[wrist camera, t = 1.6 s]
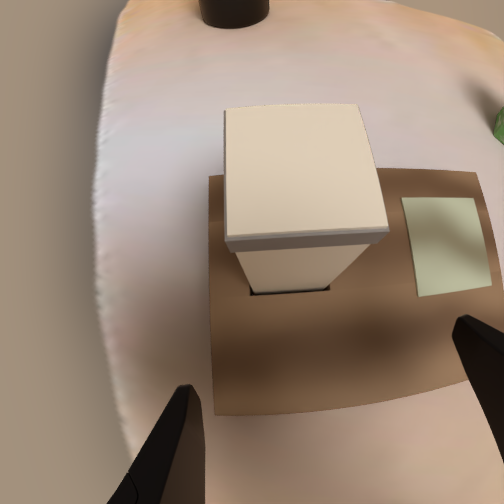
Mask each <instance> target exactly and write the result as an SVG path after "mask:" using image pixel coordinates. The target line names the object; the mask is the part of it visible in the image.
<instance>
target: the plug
mask: <svg viewBox="0 0 504 504" xmlns="http://www.w3.org/2000/svg"><path fill="white" fill-rule="evenodd" d="M224 232H225V243H226V245H227V247H228V249H229V251H230V253H234V252H235V253H236V255H237V258H238V260H239V262H240V264H241V266H242V268H243V270H244V273H245V275H246V277H247V279H248V281H249V283H250V285H251V287H252V290H253V292H254V294H255V296H259V295H276V294H291V293H305V292H319V291H322V290H323V289H325V288H326V287H327V286H328V285H329V284H330V283H331V282H332V281H333V280H334V279H335V278H336V277H337V276H338V275H339V274H340V273H342V272H343V271H344V270H345V269H346V268H347V267H348V266H349V265H350V264H351V263H352V262H353V261H354V260H355V259H356V258H357V257H358V256H359V255H360V254H361V253H362V252H363V251H364V250H365V249H366V248H367V247H368V246H369V245H370V244H377V243H378V242H379V241H380V240H381V239H382V238H384V237H385V236H386V235H387V234H388V233H389V232H390V230H389V225H388V220H387V214H386V210H385V205H384V200H383V195H382V191H381V186H380V182H379V178H378V174H377V170H376V166H375V162H374V158H373V154H372V151H371V147H370V143H369V140H368V136H367V133H366V129H365V126H364V123H363V120H362V116H361V113H360V110H359V107H358V105H357V104H283V105H264V106H250V107H238V108H228V109H226V110H225V111H224Z"/></svg>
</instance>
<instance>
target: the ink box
mask: <svg viewBox="0 0 504 504" xmlns="http://www.w3.org/2000/svg"><path fill="white" fill-rule="evenodd" d="M494 136H495V137H496V138H497V139H498V140H499V141H500V142H502V143H503V144H504V107H503V108H502V109H501V111H500V112H499V113H498V114H497V119H496V124H495V128H494Z"/></svg>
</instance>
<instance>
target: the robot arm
mask: <svg viewBox="0 0 504 504" xmlns="http://www.w3.org/2000/svg"><path fill="white" fill-rule="evenodd" d="M452 340H453V343H454V345H455V347H456V350H457V352H458V355H459V357H460V360H461V363H462V365H463V368H464V370H465V373H466V375H467V377H468V379H469V381H470V383H471V386H472V388H473V390H474V392H475V394H476V396H477V398H478V400H479V403H480V405H481V407H482V409H483V412H484V414H485V416H486V419H487V421H488V423H489V426H490V428H491V431H492V433H493V436H494V438H495V441H496V443H497V446H498V449H499V451H500V454H501V457H502V459H503V463H504V333H503V332H501V331H499V330H497V329H496V328H494V327H492V326H490V325H488V324H486V323H484V322H482V321H480V320H478V319H477V318H475V317H473V316H471V315H469V314H464V315H462V316H459V317H458V318H457V319H456V322H455V325H454V328H453V331H452ZM128 472H129V473H126V475H125V477H124V479H123V480H122V482H121V483H120V485H119V487H118V488H117V490H116V491H115V493H114V494H113V495H112V497H111V498H110V500H109V501H108V502H107V504H205V437H204V428H203V419H202V409H201V401H200V398H199V396H198V395H197V393H196V391H195V389H194V388H193V386H192V385H190V384H187V385H180V386H178V387H177V389H176V390H175V392H174V394H173V395H172V397H171V399H170V401H169V402H168V404H167V406H166V407H165V409H164V411H163V413H162V414H161V416H160V418H159V419H158V421H157V423H156V424H155V426H154V428H153V430H152V431H151V433H150V435H149V436H148V438H147V440H146V441H145V443H144V445H143V446H142V448H141V450H140V452H139V453H138V455H137V457H136V458H135V460H134V462H133V463H132V465H131V467H130V469H129V470H128Z"/></svg>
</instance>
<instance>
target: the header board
mask: <svg viewBox="0 0 504 504" xmlns="http://www.w3.org/2000/svg"><path fill="white" fill-rule="evenodd" d="M376 170H377V174H378V178H379V182H380V186H381V191H382V195H383V200H384V205H385V210H386V214H387V220H388V225H389V230H390V232H389V233H388V234H387V235H386V236H385V237H384V238H382V239H381V240H380V241H379V242H378V243H377V244H370V245H369V246H368V247H367V248H366V249H365V250H364V251H363V252H362V253H361V254H360V255H359V256H358V257H357V258H356V259H355V260H354V261H353V262H352V263H351V264H350V265H349V266H348V267H347V268H346V269H345V270H344V271H343V272H342V273H340V274H339V275H338V276H337V277H336V278H335V279H334V280H333V281H332V282H331V283H330V284H329V285H328V286H327V287H326V288H325V289H323V291H319V292H305V293H291V294H276V295H259V296H253V293H252V287H251V285H250V283H249V281H248V279H247V277H246V275H245V273H244V270H243V268H242V266H241V264H240V262H239V260H238V258H237V255H236V253H235V252H234V253H230V251H229V249H228V247H227V245H226V243H225V232H224V175H216V176H209V297H210V331H211V356H212V376H213V394H214V410H215V415H223V416H241V415H273V414H290V413H303V412H313V411H323V410H331V409H339V408H346V407H353V406H360V405H366V404H372V403H377V402H382V401H388V400H393V399H397V398H402V397H407V396H411V395H415V394H419V393H423V392H427V391H431V390H435V389H439V388H442V387H446V386H449V385H453V384H456V383H459V382H463V381H466V380H469V379H468V377H467V375H466V373H465V370H464V368H463V365H462V363H461V360H460V357H459V355H458V352H457V350H456V347H455V345H454V343H453V340H452V331H453V328H454V325H455V322H456V319H457V318H458V317H459V316H462V315H464V314H469V315H471V316H473V317H475V318H477V319H478V320H480V321H482V322H484V323H486V324H488V325H490V326H492V327H494V328H496V329H497V330H499V331H501V332H503V333H504V290H503V283H502V276H501V270H500V264H499V258H498V253H497V248H496V243H495V239H494V234H493V230H492V226H491V222H490V218H489V214H488V210H487V207H486V203H485V200H484V196H483V193H482V190H481V187H480V183H479V180H478V177H477V174H476V172H463V171H448V170H428V169H396V168H376Z"/></svg>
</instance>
